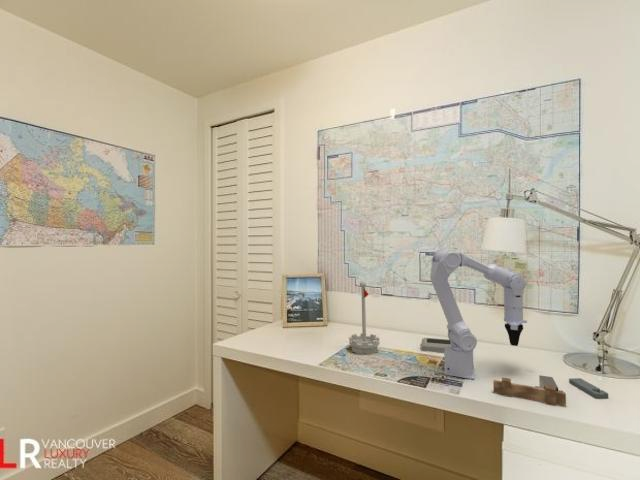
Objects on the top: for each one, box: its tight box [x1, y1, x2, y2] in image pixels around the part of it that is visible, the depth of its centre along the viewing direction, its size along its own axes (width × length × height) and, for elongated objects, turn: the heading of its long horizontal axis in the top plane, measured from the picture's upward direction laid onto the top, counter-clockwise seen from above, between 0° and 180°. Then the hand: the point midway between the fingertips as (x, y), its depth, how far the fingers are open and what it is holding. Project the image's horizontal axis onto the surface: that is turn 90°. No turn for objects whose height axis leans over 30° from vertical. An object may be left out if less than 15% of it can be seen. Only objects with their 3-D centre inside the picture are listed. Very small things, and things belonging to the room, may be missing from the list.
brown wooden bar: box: [492, 377, 567, 407], centre depth 97 cm, size 18×5×4 cm, turn 60°
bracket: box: [568, 377, 609, 400], centre depth 100 cm, size 4×10×2 cm, turn 0°
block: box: [538, 374, 559, 391], centre depth 98 cm, size 3×8×4 cm, turn 154°
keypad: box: [420, 337, 451, 354], centre depth 139 cm, size 10×4×15 cm
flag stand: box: [348, 280, 380, 355], centre depth 140 cm, size 13×13×30 cm
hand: (514, 345), depth 115 cm, fingers closed
